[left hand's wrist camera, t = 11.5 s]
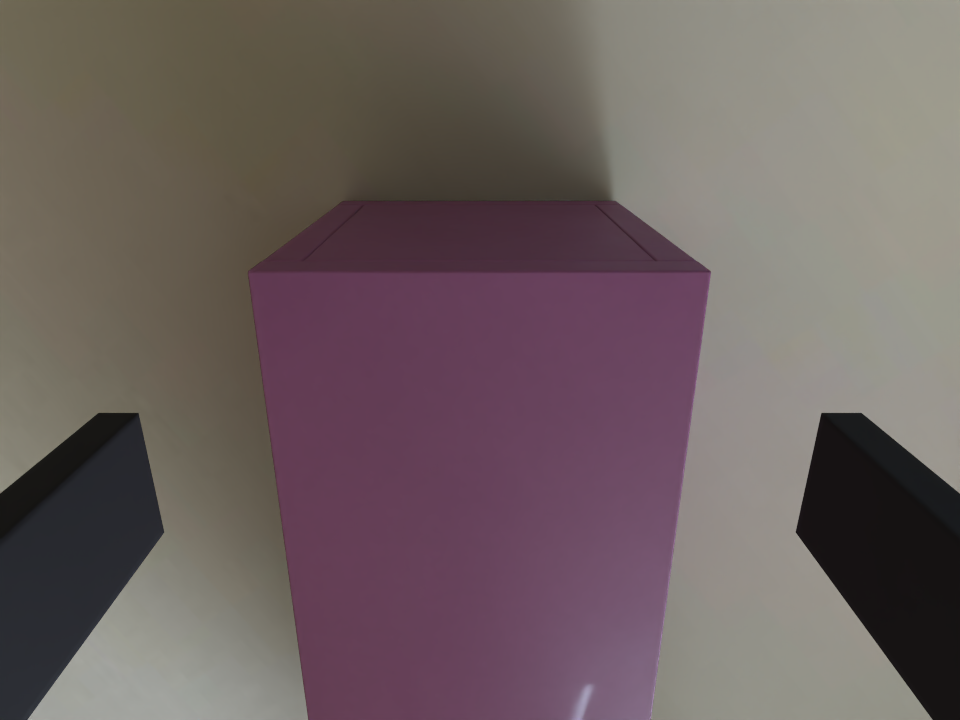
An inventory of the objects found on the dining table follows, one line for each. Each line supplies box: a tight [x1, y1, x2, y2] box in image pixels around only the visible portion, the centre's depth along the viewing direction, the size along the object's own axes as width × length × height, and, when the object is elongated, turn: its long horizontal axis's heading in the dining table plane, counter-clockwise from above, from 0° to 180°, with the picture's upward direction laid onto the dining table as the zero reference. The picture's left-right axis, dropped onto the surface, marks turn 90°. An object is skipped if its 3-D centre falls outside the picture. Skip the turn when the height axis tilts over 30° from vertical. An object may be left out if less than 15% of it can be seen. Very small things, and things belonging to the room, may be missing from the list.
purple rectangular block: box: [248, 201, 711, 720], centre depth 26 cm, size 21×12×12 cm, turn 0°
